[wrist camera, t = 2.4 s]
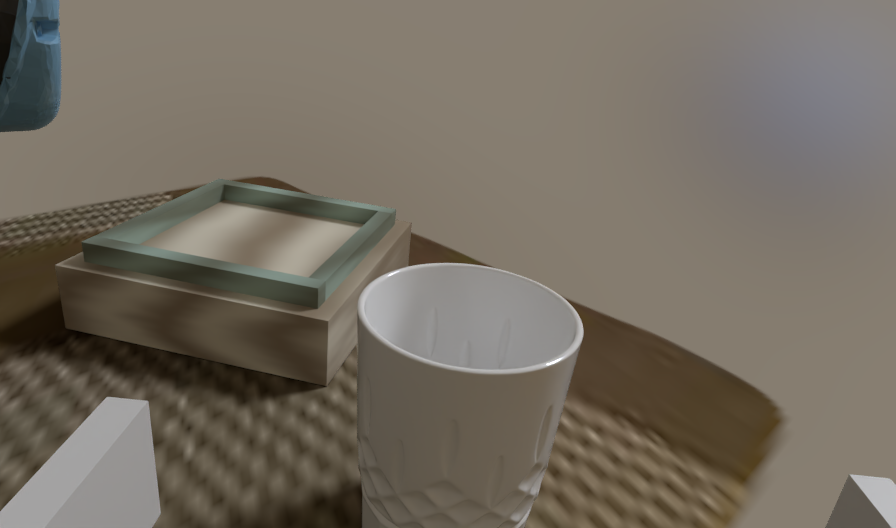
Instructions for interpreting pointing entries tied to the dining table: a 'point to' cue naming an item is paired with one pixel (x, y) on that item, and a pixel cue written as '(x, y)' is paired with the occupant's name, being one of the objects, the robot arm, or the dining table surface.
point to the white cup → (459, 394)
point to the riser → (237, 277)
